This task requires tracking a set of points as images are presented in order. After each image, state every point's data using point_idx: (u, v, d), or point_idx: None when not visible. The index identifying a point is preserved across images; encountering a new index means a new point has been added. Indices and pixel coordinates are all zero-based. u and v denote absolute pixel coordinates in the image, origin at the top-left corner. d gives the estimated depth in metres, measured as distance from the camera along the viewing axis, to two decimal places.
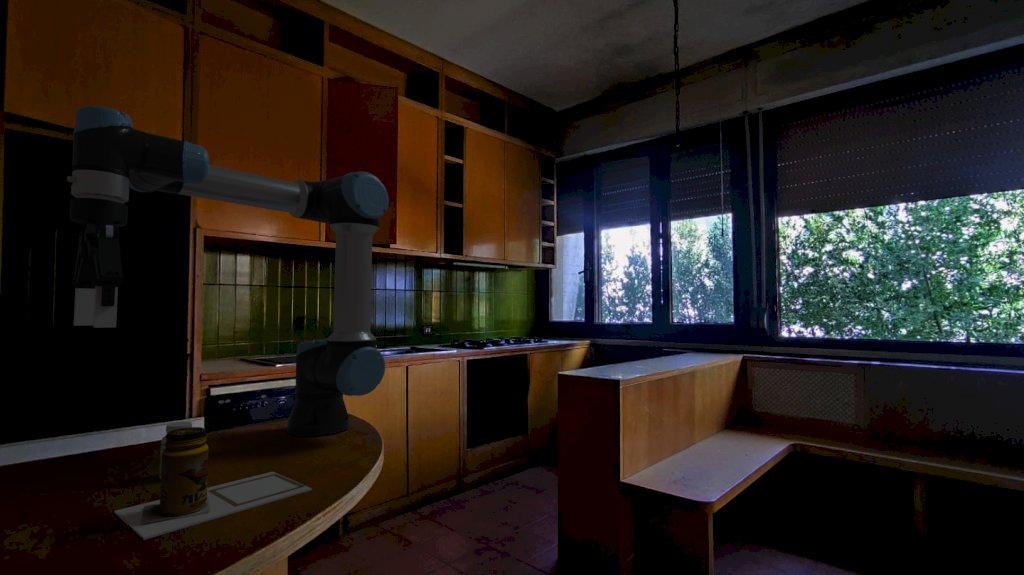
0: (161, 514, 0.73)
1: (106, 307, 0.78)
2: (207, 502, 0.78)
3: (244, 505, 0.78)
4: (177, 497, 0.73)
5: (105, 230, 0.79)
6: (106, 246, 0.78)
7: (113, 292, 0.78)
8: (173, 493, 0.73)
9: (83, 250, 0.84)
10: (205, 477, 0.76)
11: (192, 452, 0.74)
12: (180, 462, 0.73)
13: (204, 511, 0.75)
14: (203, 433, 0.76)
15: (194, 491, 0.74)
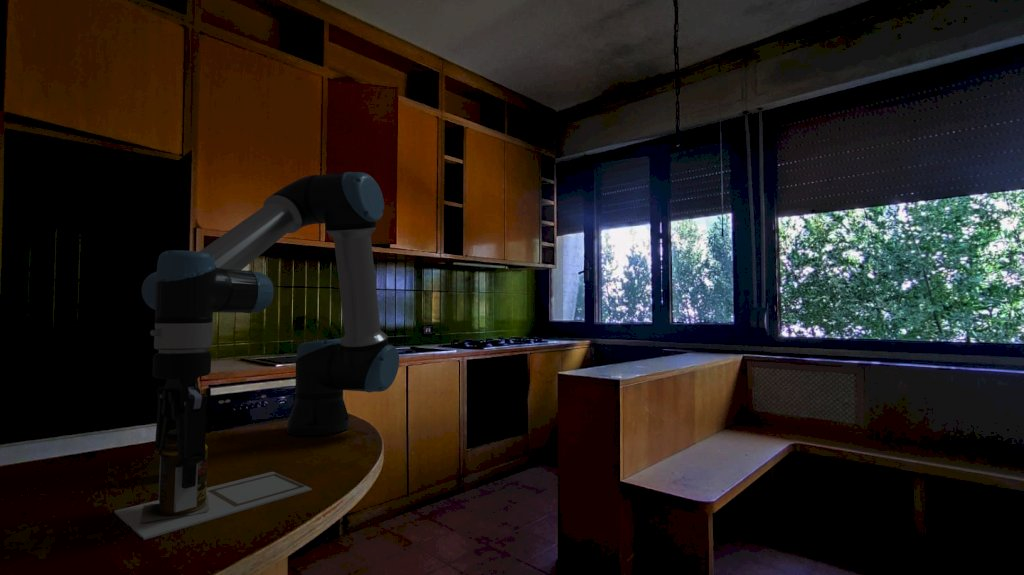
0: (160, 513, 0.74)
1: None
2: (206, 502, 0.78)
3: (244, 505, 0.78)
4: None
5: (193, 403, 0.72)
6: (193, 421, 0.72)
7: (194, 471, 0.73)
8: (172, 492, 0.73)
9: (166, 407, 0.76)
10: (204, 477, 0.77)
11: None
12: None
13: (203, 510, 0.75)
14: None
15: None
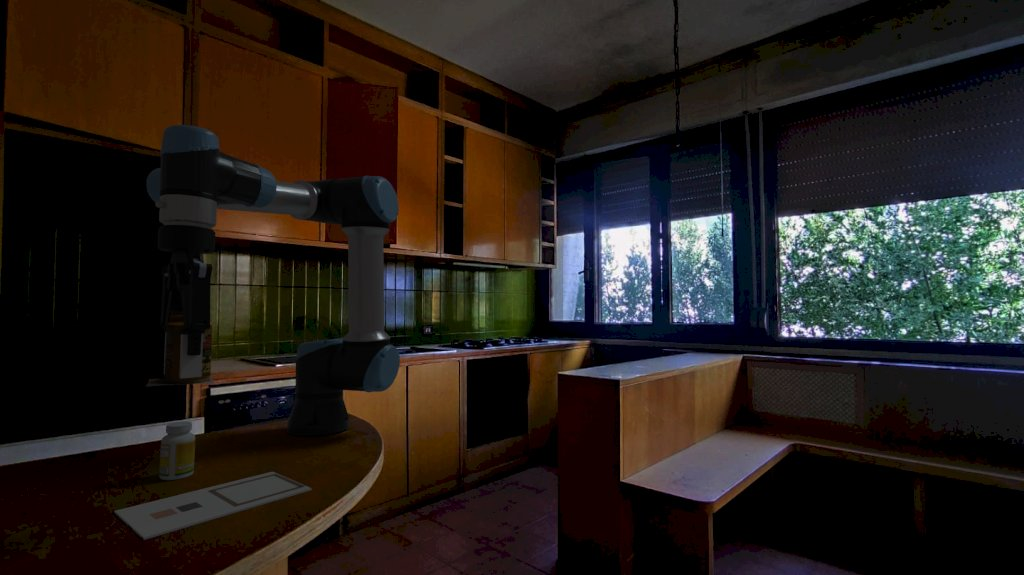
0: (166, 382, 0.75)
1: (192, 356, 0.74)
2: (211, 379, 0.79)
3: (244, 505, 0.78)
4: None
5: (198, 271, 0.73)
6: (198, 289, 0.73)
7: (199, 340, 0.74)
8: (177, 361, 0.74)
9: (172, 281, 0.77)
10: (209, 351, 0.78)
11: None
12: None
13: (208, 382, 0.76)
14: None
15: None
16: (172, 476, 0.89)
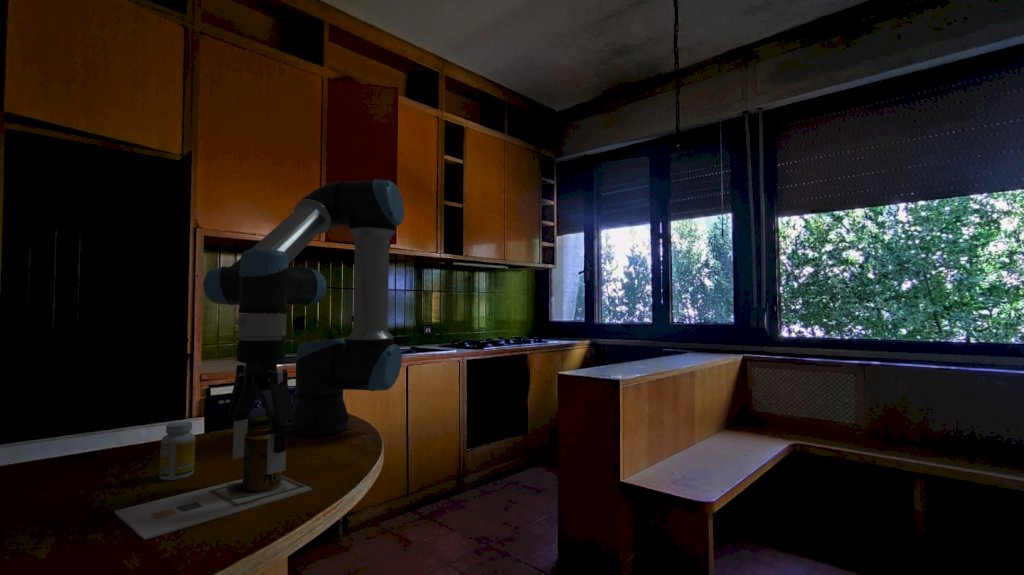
0: (244, 490, 0.83)
1: (277, 452, 0.81)
2: (281, 481, 0.88)
3: (244, 505, 0.78)
4: (259, 476, 0.83)
5: (277, 376, 0.81)
6: (279, 393, 0.81)
7: (285, 438, 0.81)
8: (255, 472, 0.83)
9: (246, 387, 0.86)
10: None
11: None
12: (262, 445, 0.83)
13: (281, 488, 0.85)
14: None
15: None
16: (172, 476, 0.89)
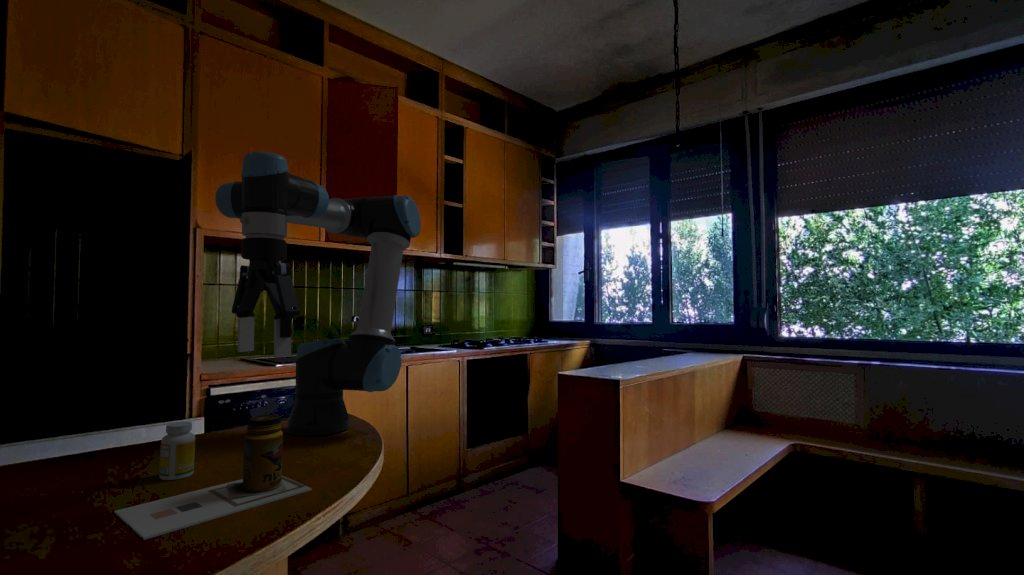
0: (244, 490, 0.83)
1: (283, 338, 0.86)
2: (281, 481, 0.88)
3: (244, 505, 0.78)
4: (259, 476, 0.83)
5: (280, 268, 0.86)
6: (283, 282, 0.86)
7: (290, 324, 0.86)
8: (255, 472, 0.83)
9: (250, 284, 0.91)
10: (281, 459, 0.86)
11: (271, 436, 0.84)
12: (262, 445, 0.83)
13: (281, 488, 0.85)
14: (279, 420, 0.86)
15: (273, 471, 0.84)
16: (172, 476, 0.89)
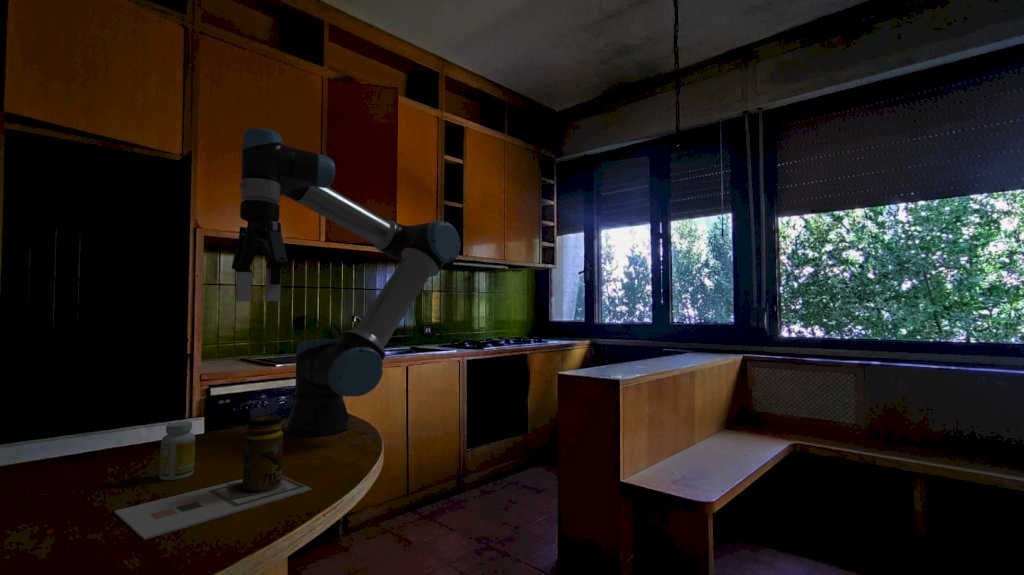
0: (244, 490, 0.83)
1: (274, 285, 1.01)
2: (281, 481, 0.88)
3: (244, 505, 0.78)
4: (259, 476, 0.83)
5: (272, 225, 1.01)
6: (274, 237, 1.01)
7: (279, 273, 1.01)
8: (255, 472, 0.83)
9: (247, 241, 1.06)
10: (281, 459, 0.86)
11: (271, 436, 0.84)
12: (262, 445, 0.83)
13: (281, 488, 0.85)
14: (279, 420, 0.86)
15: (273, 471, 0.84)
16: (172, 476, 0.89)
